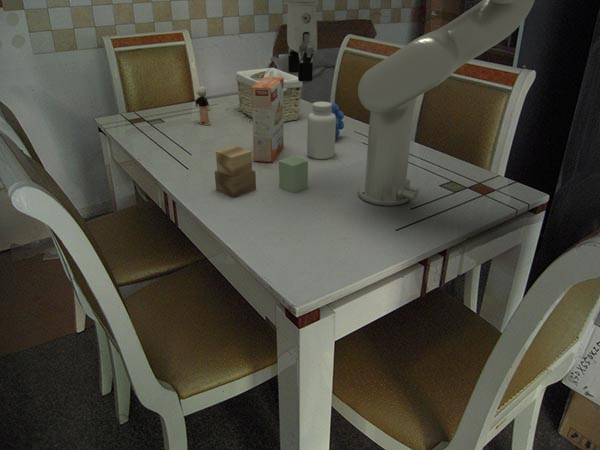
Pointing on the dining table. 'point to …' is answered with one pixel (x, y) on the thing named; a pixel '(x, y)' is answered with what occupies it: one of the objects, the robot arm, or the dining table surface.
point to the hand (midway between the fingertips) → (299, 76)
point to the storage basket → (290, 81)
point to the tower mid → (234, 161)
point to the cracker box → (268, 118)
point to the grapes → (338, 118)
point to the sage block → (293, 174)
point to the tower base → (235, 183)
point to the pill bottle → (321, 131)
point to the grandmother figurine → (203, 105)
